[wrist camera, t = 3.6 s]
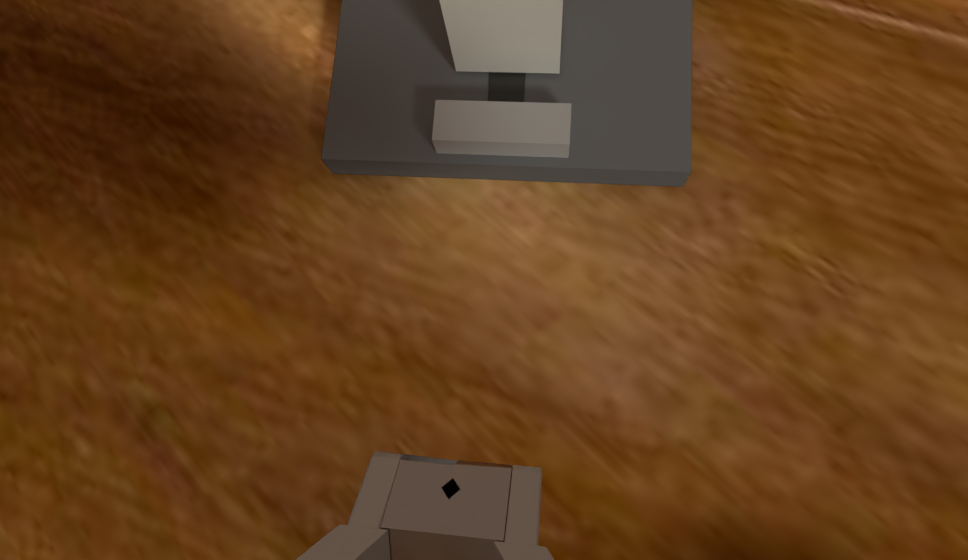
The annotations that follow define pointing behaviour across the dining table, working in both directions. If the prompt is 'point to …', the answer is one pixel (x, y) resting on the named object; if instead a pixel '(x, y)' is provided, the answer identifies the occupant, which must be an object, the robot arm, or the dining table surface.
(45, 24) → the dining table surface
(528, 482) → the robot arm
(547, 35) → the fader tab
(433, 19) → the board
